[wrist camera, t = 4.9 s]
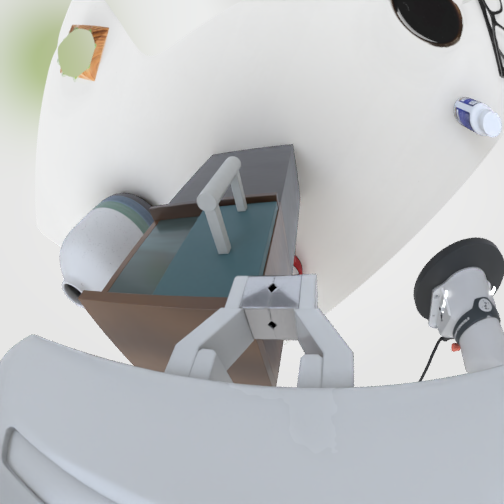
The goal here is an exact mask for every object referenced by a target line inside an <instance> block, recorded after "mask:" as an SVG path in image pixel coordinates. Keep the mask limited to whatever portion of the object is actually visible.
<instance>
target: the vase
mask: <svg viewBox="0 0 504 504" xmlns="http://www.w3.org/2000/svg"><path fill="white" fill-rule="evenodd" d="M150 208H151V206H150V205H149V204H148V203H147V202H146V201H144V200H143V199H141V198H140V197H138V196H135V195H133V194H127V193H120V194H115V195H112V196H110V197H108V198H106V199H104V200H103V201H102V202H101V203H99V204H98V205H97V206H96V207H95V208H94V209H93V210H92V211H90V212H89V213H88V214H87V215H86V216H85V217H84V218H83V219H82V220H81V221H80V222H79V223H78V224H77V225H76V226H75V227H74V228H73V229H72V230H71V231H70V233H69V234H68V235H67V236H66V238H65V240H64V242H63V244H62V247H61V250H60V266H61V271H62V274H63V277H64V281H63V283H62V289H63V291H64V293H65V294H66V296H67V297H68V298H69V299H70V300H71V301H72V302H73V303H75V304H76V305H78V306H80V307H82V308H84V306H83V305H82V304H81V302H80V301H79V300H78V297H79V296H80V295H81V293H82V292H83V290H88V291H101V292H102V290H103V289H104V287H105V286H106V284H107V283H108V282H109V280H110V279H111V277H112V276H113V275H114V273H115V272H116V270H117V269H118V268H119V266H120V265H121V263H122V262H123V261H124V259H125V258H126V257H127V255H128V254H129V253H130V251H131V250H132V249H133V247H134V246H135V245H136V244H137V242H138V241H139V240H140V238H141V237H142V236H143V235H144V233H145V232H146V231H147V229H148V228H149V227H150V226H151V224H152V223H153V222H154V220H153V218H152V215H151V213H150V211H149V209H150Z"/></svg>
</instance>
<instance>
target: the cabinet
mask: <svg viewBox="0 0 504 504" xmlns="http://www.w3.org/2000/svg"><path fill="white" fill-rule="evenodd" d="M230 156H235V157H237V158H238V159H239V160H240V161H241V167H240V169H239V173H240V178H241V182H242V186H243V190H244V194H245V199H246V203H247V204H251V203H263V202H277V206H278V210H277V215H276V219H275V224H274V228H273V233H272V237H271V241H270V246H269V250H268V254H267V259H266V263H265V267H264V271H263V276H276V275H292V273H293V264H294V255H295V246H296V237H297V227H298V217H299V207H300V191H299V184H298V176H297V169H296V162H295V156H294V149H293V144H291V145H281V146H272V147H263V148H255V149H248V150H241V151H234V152H228V153H221V154H215V155H212V156H211V157H210V158H209V159H208V160H207V161H206V162H205V163H204V164H203V166H202V167H201V168H200V169H199V170H198V171H197V172H196V173H195V174H194V175H193V176H192V178H191V179H190V180H189V181H188V182H187V183H186V184H185V185H184V187H183V188H182V189H181V190H180V191H179V192H178V193H177V195H176V196H175V197H174V198H173V199H172V200H171V202H170V203H169V204H166V205H159V206H153V207H151V208H150V209H149V211H150V213H151V215H152V218H153V220H154V222H153V223H152V224H151V226H150V227H149V228H148V229H147V231H146V232H145V233H144V235H143V236H142V237H141V238H140V240H139V241H138V242H137V244H136V245H135V246H134V247H133V249H132V250H131V251H130V253H129V254H128V255H127V257H126V258H125V259H124V261H123V262H122V263H121V265H120V266H119V268H118V269H117V270H116V272H115V273H114V275H113V276H112V277H111V279H110V280H109V282H108V283H107V284H106V286H105V287H104V289H103V290H102V292H101V291H88V290H83V292H82V293H81V295H80V296H79V297H78V300H79V301H80V302H81V304H82V305H83V306H84V308H85V309H86V310H87V312H88V313H89V314H90V315H91V317H92V318H93V319H94V321H95V322H96V323H97V324H98V325H99V327H100V328H101V329H102V330H103V332H104V333H105V334H106V335H107V336H108V337H109V339H110V340H111V341H112V342H113V343H114V344H115V346H116V347H117V348H118V349H119V350H120V351H121V352H122V353H123V354H124V356H125V357H126V358H127V359H128V360H129V361H130V362H131V363H132V364H133V365H134V366H136V367H141V368H145V369H150V370H154V371H159V372H165V369H166V367H167V364H168V362H169V360H170V357H171V355H172V352H173V350H174V348H175V345H176V344H177V343H178V342H179V341H181V340H182V339H183V338H184V337H186V336H187V335H188V334H189V333H191V332H192V331H193V330H194V329H195V328H197V327H198V326H199V325H200V324H202V323H203V322H204V321H205V320H206V319H208V318H209V317H210V316H211V315H213V314H214V313H215V312H216V311H217V310H219V309H220V308H225V305H226V302H227V299H228V297H197V296H169V295H152V294H153V292H154V291H155V289H156V287H157V285H158V284H159V282H160V280H161V278H162V277H163V275H164V273H165V271H166V270H167V268H168V266H169V265H170V263H171V261H172V260H173V258H174V256H175V255H176V253H177V251H178V250H179V248H180V246H181V245H182V243H183V241H184V240H185V238H186V237H187V235H188V233H189V232H190V230H191V228H192V227H193V225H194V224H195V222H196V221H197V219H198V217H199V216H200V214H201V213H202V211H203V210H201V209H200V208H199V207H198V205H197V197H198V196H199V194H200V193H201V192H202V190H203V189H204V188H205V186H206V185H207V184H208V182H209V181H210V180H211V178H212V177H213V176H214V174H215V173H216V172H217V171H218V169H219V168H220V167H221V165H222V164H223V163H224V162H225V160H226V159H227V158H228V157H230ZM229 205H236V203H235V199H234V196H233V192H232V188H231V184H230V185H229V187H228V189H227V190H226V192H225V194H224V195H223V197H222V199H221V200H220V202H219V206H229ZM282 347H283V340H279V339H254V341H253V342H252V343H251V344H250V345H249V347H248V348H247V349H246V350H245V351H244V352H243V353H242V354H241V356H240V357H239V358H238V359H237V360H236V361H235V362H234V363H233V364H232V365H231V367H230V368H229V369H228V370H227V373H228V374H229V376H230V378H231V379H232V381H233V383H237V384H248V385H260V386H274V387H276V383H277V378H278V372H279V366H280V360H281V353H282Z"/></svg>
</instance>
